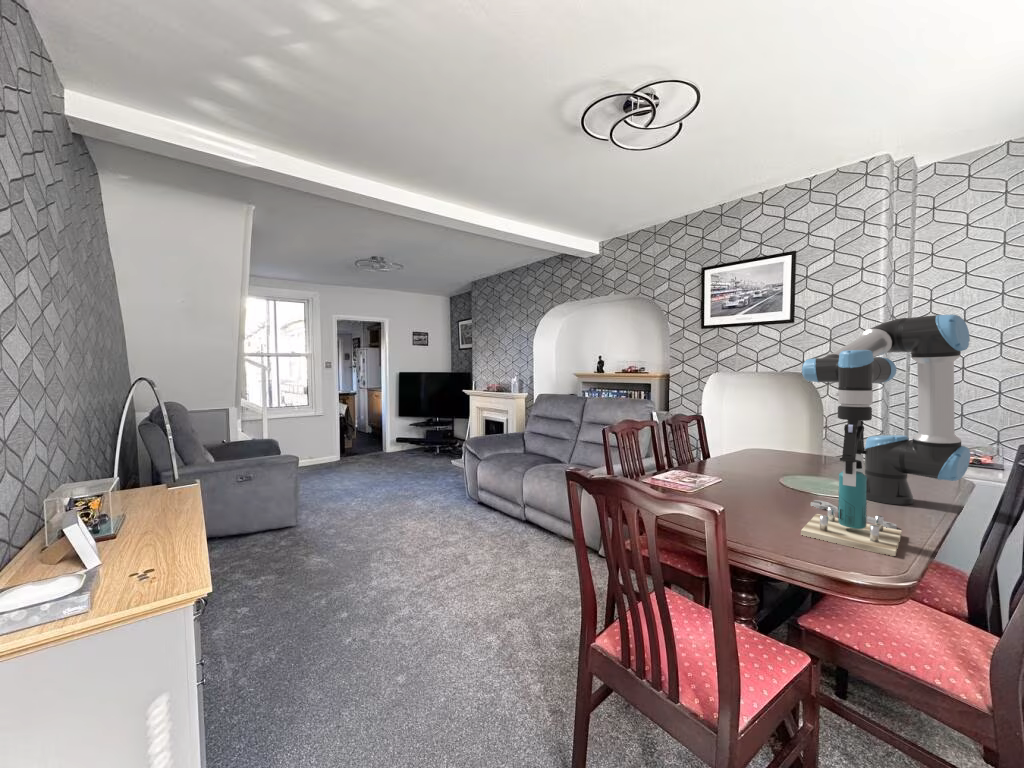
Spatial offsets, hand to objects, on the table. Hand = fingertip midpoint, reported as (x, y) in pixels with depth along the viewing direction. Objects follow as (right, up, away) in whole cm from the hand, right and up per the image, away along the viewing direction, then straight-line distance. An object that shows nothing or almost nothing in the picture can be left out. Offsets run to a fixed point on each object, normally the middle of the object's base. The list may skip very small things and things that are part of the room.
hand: (853, 480), depth 122 cm
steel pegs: (0, -14, 0) cm, 14 cm away
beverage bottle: (0, -14, 0) cm, 14 cm away
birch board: (0, -16, 0) cm, 16 cm away
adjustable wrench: (+12, -16, +18) cm, 26 cm away
